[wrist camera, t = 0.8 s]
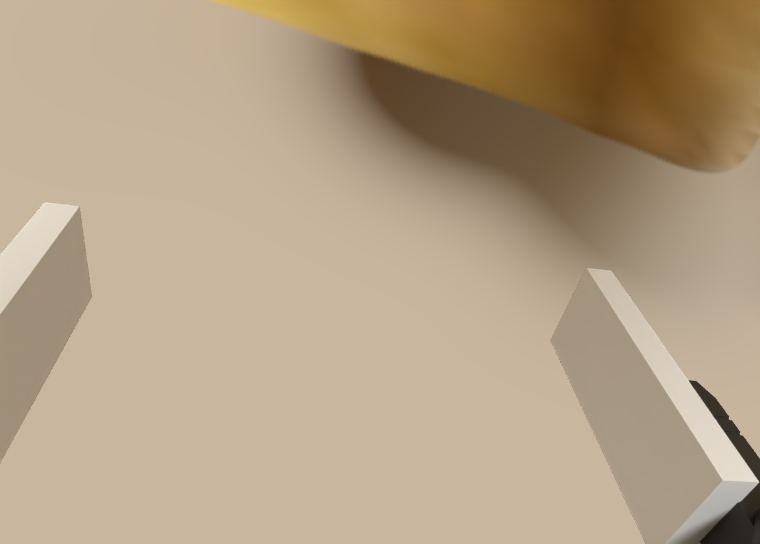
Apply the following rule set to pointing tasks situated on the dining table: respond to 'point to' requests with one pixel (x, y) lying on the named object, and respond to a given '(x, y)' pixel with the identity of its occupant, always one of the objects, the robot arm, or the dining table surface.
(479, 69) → the dining table surface
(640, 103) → the dining table surface
